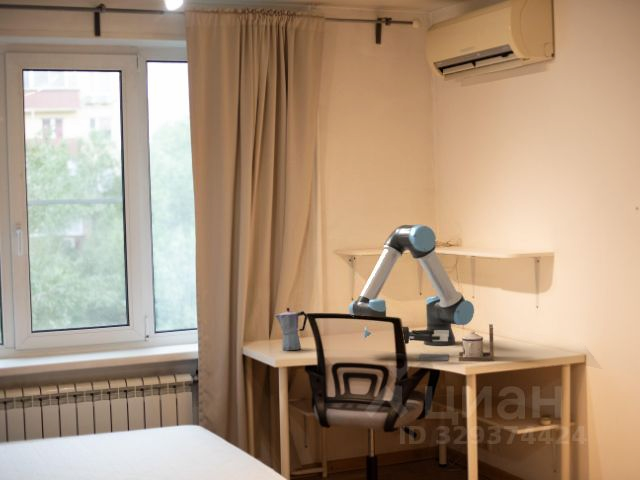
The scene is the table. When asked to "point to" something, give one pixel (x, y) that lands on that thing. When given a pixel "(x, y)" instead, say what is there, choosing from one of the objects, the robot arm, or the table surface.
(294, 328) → the moka pot
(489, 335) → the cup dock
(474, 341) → the teacup with lid
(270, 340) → the table surface
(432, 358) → the slate mat
